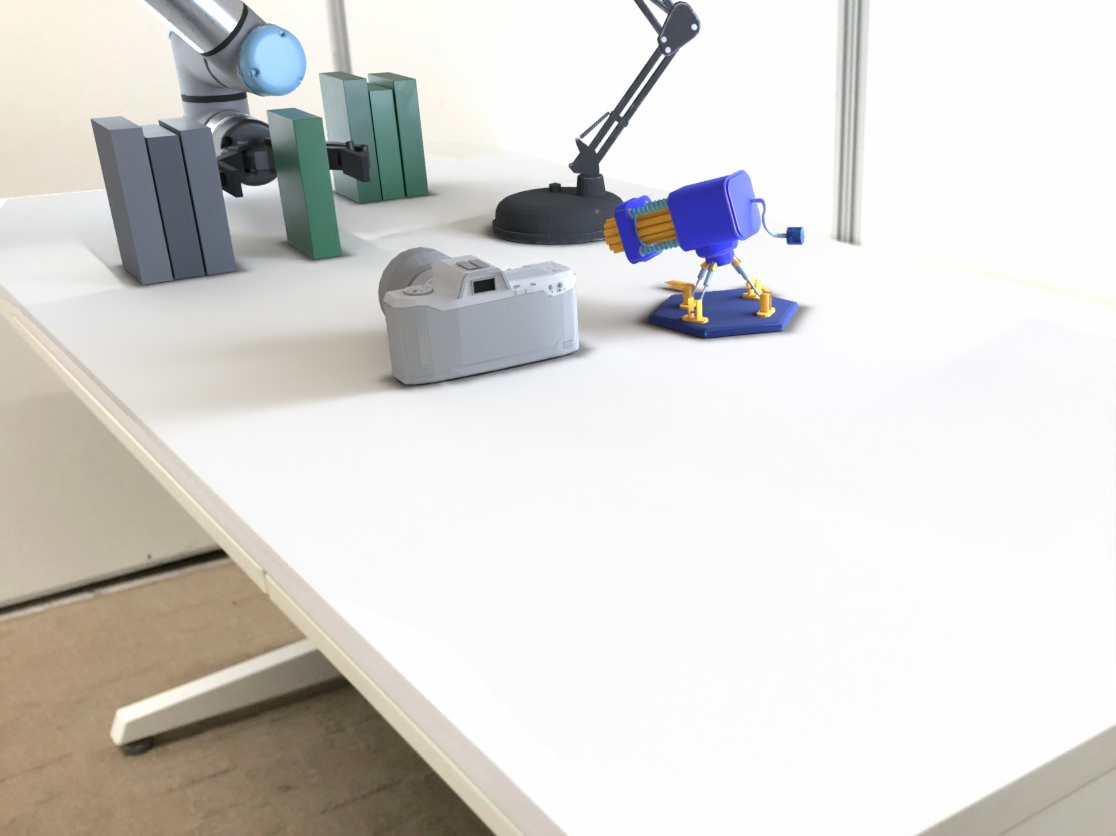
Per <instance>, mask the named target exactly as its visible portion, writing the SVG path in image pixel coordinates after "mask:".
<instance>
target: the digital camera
mask: <svg viewBox="0 0 1116 836" xmlns="http://www.w3.org/2000/svg"><path fill="white" fill-rule="evenodd" d="M576 275H577V273H575V272H573V270H572V269H571V268H570V267H569V266H567V265H564V264H561V263H558V262H555V261H553V260H548V261H543V262H537V263H530V264H526V265H522V266H521V267H518V268H507V269H506V270H502V269H501V268H499V267H497V266H495V265H494V264H491V263H489V262H487V261H485V260H483V259H481V258H478V257H476V256H474V255H472V254H467V255H460V256H454V257H451V256H449V255H447V254H445V253H443V252H441V251H439V250H437V249H435V248H431V247H424V246H418V247H413V248H408V249H406V250H404V251H402V252H400V253H399V254H397V255H396V256H395V257H393V258H392V259H391V260H390V261H389V263H388V264H387V266H385V268H384V269H383V271H382V273H381V277H380V279H379V282H378V289H377V295H378V303H379V306H380V310H381V312H382V313H383V315H384V317H385V327H386V334H387V341H388V342H387V343H388V349H389V350H388V351H389V357H390V365H391V374H392V376H393V377H395V378H396V379H397V381H400V382H401V383H402V384H404V385H421V384H431V383H438V382H443V381H448V380H455V379H458V378H463V377H469V376H474V375H478V374H484V373H488V372H493V371H498V370H502V369H507V368H512V367H516V366H522V365H526V364H531V363H535V362H539V361H544V360H548V359H553V358H558V357H561V356H566V355H568V354H569V355H570V354H572V353H575V352H576V351H578V350H579V349H580V337H579V335H580V334H579V322H578V321H579V319H578V304H577V301H578V300H577V285H576V284H577V283H576Z"/></svg>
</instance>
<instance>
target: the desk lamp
mask: <svg viewBox="0 0 1116 836" xmlns="http://www.w3.org/2000/svg"><path fill="white" fill-rule="evenodd" d="M649 1H650V2H651V3H652V4H654V5H655V6H656V7H657V8H659V9H660V10H661V11H663V12H664V13H665V14H666V15H667V16H666V18H665V20H664V22H663V24H662V25H661V23H660V22H659V20H658V19H657V18H656V17H655V15H654V13H653V12H652V11H651V9H650V7H649V6H648V5H647V4H646V1H644V0H633V2H634V3H635V5H636V6H637V7H638V9H639V10H640V12H641V13H642V14H643V16H644V17H645V19H646V20H647V21H648V23H649V24H650V25H651V27H652V28H653V29H654V32H656V34H657V37H656V41H657V44H658V46H657V47H656V49H655V50H654V51H653V52H652V54H651V56H650V57H649V59H648V60H647V61H646V63H645V64H644V66H643V67H642V68H641V70H640V71H639V73H638V75H637V76H636V77H635V78H634V80H633V81H632V83H631V84H630V86H629V87H628V89H627V90H626V91H625V92H624V95H622V97H621V99H620V100H619V102H618V103H617V104H616V106H615V107H614V109H613V110H610V111H606V112H605V113H604V114H602V116H601V117H599V118H598V119H597V120H596V121H595V122H594V123H592V124H591V126H589V127H587V129H585V131H583V132H582V133H580V135H579V137H575V138H574V139H575V145H576V147H577V149H578V152H579V153H578V154H577V156H576V157H575V158H574V160H573V161H572V162H570V163H568V168H569V169H570V170H571V171H572V173H573V174H577V176H576V186H562V183H561V182H552V183H549V184H548V187H538V188H532V189H531V188H530V189H526V190H522V191H519V192H514V193H511V194H509V195H507V196H505V197H504V198H502V199H501V200H500V201H499V202H498V203H497V205H496V207H495V210H494V211H495V212H494V218H493V219H492V221H491V227H492V234H493V235H494V236H496V237H497V238H500V239H503V240H506V241H510V242H516V243H521V244H522V243H523V244H534V245H535V244H536V245H567V244H568V245H569V244H581V243H582V244H583V243H589V242H597V241H601V240H602V241H603V240H605V238H608V237H605V236H604V230H605V228H604V224H606V220H607V219H611V218H615V216H614V212H615V208H616V206H617V205H618V204H621V203H623V202H624V201H623V199H622V198H621V197H620V196H618V195H617V194H615V193H613V192H611V191H609V190H606V184H605V179H604V178H605V177H604V174H602V173H600V163H601V162H602V160H603V159H604V158H605V156H606V155H607V153H608V152H609V151H610V149H611V147H612V146H613V145H614V144H615V142H616V140H618V138H619V136H620V135H621V133H622V132H623V130H624V129H625V128H627V127H628V125H630V124H629V123H630V121H631V119H632V118H633V116H634V115H635V113H636V112H637V110H639V108H640V107H641V105H642V103H643V102H644V101H645V99H646V97H647V96H648V95H649V93H650V92H651V90H652V89H653V88H654V86H656V84H657V82H658V81H659V79H660V78H661V76H662V75H663V74H664V72H665V71H666V69H667V68H668V66H669V65H670V64H671V62H672V61H673V59H674V58H675V56H676V55H677V53H678V52H679V50H680V49H681V48H683V47H684V46H685V45H687V44H688V43H689V42H691V41H692V40H693V39H695V38H696V37H697V36H698V35H699V33H700V30H701V21H700V19H699V16H698V15H697V13H696V12H695V10H694V9H693V8H692V6H691V5H690V4H689V3H688V2H687V1H683V0H678V1H676V2H674V1H672V0H649ZM662 55H663V56H664V57H663V58H662V59H661V61H660V63H659V64H658V65H657V67H656V68H655V70H654V71H653V73H652V74H651V75H650V77H649V78H648V80H647V81H646V82H645V80H646V78H647V77H648V75H649V74H650V73H651V71H652V70H653V68H654V66H655V65H656V64H657V62H658V61H659V60H660V58H661V57H662ZM643 82H645V84H644V85H643V87H642V88H641V90H640V91H639V92H638V94H636V92H637V91H638V89H639V88H640V87H641V85H642V84H643ZM635 94H636V95H637V96H636V97H635V99H633V101H632V103H631V104H630V105H629V107H628V109H626V111H625V113H624V114H623V116H621V114H622V113H623V111H624V110H625V108H626V107H627V105H628V104H629V102H631V99H632V98H633V96H634V95H635ZM606 118H607V119H606ZM605 119H606V120H605ZM604 120H605V122H604V123H603V125H602V126H601V127H600V129H599V130H598V131H597V133H596V134H595V136H594V138H593V139H592V140H591V142H590V143H589V145H587V144H586V143H585V142H583V141H582V140H583V139H584V138H585V137H586V136H587V135H589V134H590V133H591V132H592V131H593V130H594V129H596V127H598V125H600V124H601V123H602V122H603V121H604ZM615 122H617V124H616V126H615V127H614V128H613V130H612V131H611V132H610V134H609V135H608V137H607V138H606V140H605V141H604V143H603V144H602V145H601V142H602V141H603V140H604V138H605V137H606V136H607V134H608V132H609V131H610V130H611V128H612V127H613V125H614V124H615ZM599 145H601V147H600V148H599V149H598V151H597V150H596V149H597V148H598V147H599ZM609 237H610V236H609Z"/></svg>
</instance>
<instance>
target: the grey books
mask: <svg viewBox="0 0 1116 836" xmlns="http://www.w3.org/2000/svg"><path fill="white" fill-rule="evenodd" d="M157 121H158V124H157V123H151V124H140V125H139V124H137V123H135V122H133V121H131V120H129V119H127V118H126V117H124V116H122V115H119V116H116V115H115V116H107V117H93V118H90V124H91V129H92V132H93V137H94V141H95V147H96V150H97V155H98V159H99V164H100V169H101V174H102V178H103V183H104V187H105V191H106V192H105V193H106V196H107V200H108V205H109V210H110V214H111V219H112V224H113V228H114V232H115V237H116V242H117V246H118V250H119V255H120V259H121V264H122V268H124V269H125V270H126V271H127V272H128V273H129V274H130V275H132V277H134V278H135V279H136V280H137V282H139V283H140V284H141V285H142V286H145V285H153V284H159V283H165V282H172V281H174V280H175V281H176V280H177V281H178V280H183V279H191V278H197V277H204V276H206V275H207V276H214V275H221V274H227V273H233V272H237V271H238V269H237V263H236V258H235V252H234V248H233V247H234V246H233V242H232V235H231V231H230V225H229V220H228V214H227V208H226V203H225V196H224V190H222V186H221V180H220V175H219V169H218V163H217V158H216V152H215V147H214V141H213V136H212V130H211V128H210V127H208V126H206V125H204V124H202V123H199V122H197V121H195V120H193V119H191V118H189V117H183V116H181V117H170V118H159V119H157Z"/></svg>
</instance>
